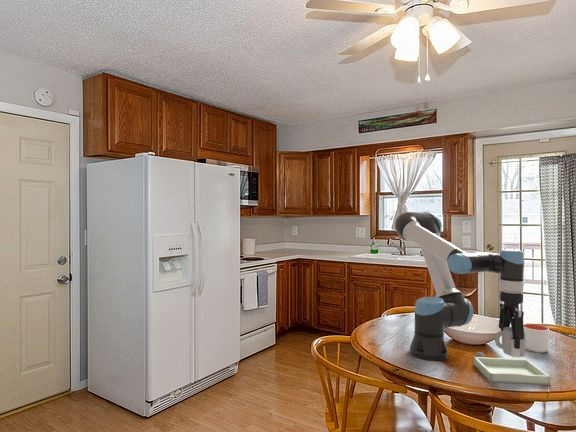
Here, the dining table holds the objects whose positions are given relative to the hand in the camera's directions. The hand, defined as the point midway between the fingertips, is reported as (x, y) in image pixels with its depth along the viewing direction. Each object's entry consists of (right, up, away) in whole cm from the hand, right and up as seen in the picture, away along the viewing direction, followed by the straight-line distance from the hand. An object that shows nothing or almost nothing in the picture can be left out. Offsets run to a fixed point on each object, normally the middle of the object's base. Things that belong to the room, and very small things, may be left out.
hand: (510, 352), depth 145 cm
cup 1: (0, 0, 0) cm, 1 cm away
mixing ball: (-5, -6, +13) cm, 15 cm away
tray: (0, -8, 0) cm, 8 cm away
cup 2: (+27, -8, +28) cm, 39 cm away
